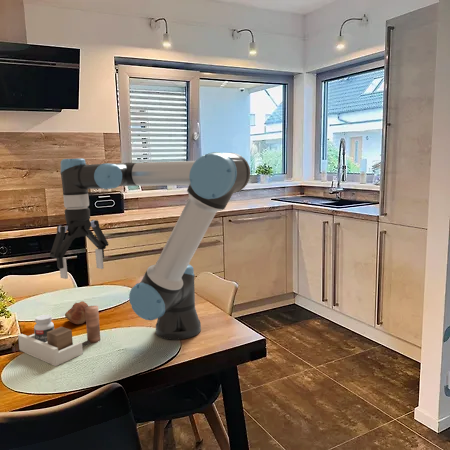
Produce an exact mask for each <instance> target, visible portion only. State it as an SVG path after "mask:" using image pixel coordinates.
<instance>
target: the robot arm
mask: <svg viewBox="0 0 450 450" xmlns="http://www.w3.org/2000/svg"><path fill="white" fill-rule="evenodd" d="M60 177H61V178H60V179H61V186H62V187H61V188H62V195H63V198H62V199H63V207H64V208H65V210H64V219H65V222H66V224H65V225H57V227H56V235H55V237H54V241H53V244H52V246H51V247H52V248H51V250H50V252H49V256H50V257H51V258H55V259H56V266H57V269H59V274H60V279H65V280H66V279H69V276H68V266H67V265H68V264H67V257H65V255H66V253H67V251H68V249H69V248H70V246H71V245H72V243H73V241H74V240H75V239H76V238H77V239H78V238H81V237H86V238H87V239H88V240H89V241H90V242H91V243H92V244H93V245H94V246H95V249H94V253H95V263H96V265H95V266H96V268H97V269H101V270H103V269H104V268H105V267H104V258H105V251H104V250H105V249H106V248H107V247H108V246H110V245H109V241H108V240H107V238H106V236H105V235H104V233H103V231H102V229H101V226H100V223H99V220H97V219H91V209H90V208H89V206H90V199H89V190H90V189H93V190H96V189H97V190H99V189H100V190H111V189H117V188H119V187H131V186H132V187H138V186H142V187H143V186H149V187H150V186H153V187H154V186H156V187H157V186H168V187H169V186H173V187H174V186H188V187H187V190H186V192H187V194H188V200H187V202H186V203H185V205H184V207H183V209H182V211H181V213H180V215H179V217H178V219H177V221H176V223H175V225H174V227H173V229H172V231H171V233H170V235H169V237H168V239H167V241H166V243H165V245H164V247H163V249H162V251H161V253H160V255H159V257H158V259H157V260H156V263H155V264H152V265H150V266H148V267H147V269H146V271H145V273H144V275H143V277H142V279H141V281H140V282H137V283H135V285H134V286H133V287H132V288H131V289H130V291H129V294H128V295H129V296H128V301H129V304H130V306H131V309H132V310H133V312H134V314H136V315H137V316H138V317H139V318H141V319H143V320H145V321H155V320H157V321H156V324H155V334H156V336H158V337H159V338H162V339H165V340H170V341H171V340H174V341H176V340H177V341H178V340H185V339H186V340H187V339H190V338H193V337H195V336H197V335H198V334H200V333H201V331H202V327H201V326H202V324H201V321H200V319H199V315H198V313H197V310H196V298H195V297H196V296H195V272H194V271H195V269H194V267H193V266H192V265H191V264H190V263H191V260H193V259H192V258H193V257H194V255H195V253H196V251H197V249H198V247H199V246H200V244H201V242H202V240H203V238H204V237H205V235H206V233H207V231H208V229H209V228H210V226H211V223H212V222H213V219H214V218H215V216H216V215H217V212H219V211H224V210H225V208H226V207H227V205H228V203H229V202H230V200H231V198H232V197H233V194H235V193H238V192H241V191H242V190H243V189H245V187H246V186H247V185H248V183H249V181H250V178H251V168H250V165H249V163H248V161H247V160H246V158H245V157H243V156H242V155H240V154H239V153H235V152H220V151H219V152H217V151H216V152H215V151H213V152H209V153H205V154H203V155H201V156H199V158H197V159H196V160H180V161H175V160H174V161H147V162H122V163H121V162H120V163H119V162H118V163H107V162H106V163H94V164H93V163H92V164H87V163H86V159H85V158H63V159H61V161H60ZM90 219H91V220H90ZM91 228H92V230H93V231H92V230H91ZM93 232H94V233H93ZM94 234H95V235H94Z"/></svg>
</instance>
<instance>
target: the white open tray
mask: <svg viewBox="0 0 450 450" xmlns="http://www.w3.org/2000/svg"><path fill="white" fill-rule="evenodd" d="M17 338H18V347H19V351H20V352H23V353H25V354H27V355H30V356H32V357H34V358H36V359H38V360H41V361H43V362H45V363H48V364H49V365H52V366H54V367H57V366H60V365H62V364H64V363H66V362H68V361H70V360H72V359H74V358H76V357H79V356H81V355H84V354H83V353H84V352H83V351H84V349H83V346H82V343H83V342H81V341H79V342H78V341H77V342H76V343H74V344H73V345H71V346H69V347H66V348H64V349H62V350H59V351H58V348H57V347H54V346H52V345H49V344H48V341H47V342H42V341H39V340H37V339H35V334H34V333H32V334H30V335H26V334H23V333H19V334H18V335H17Z"/></svg>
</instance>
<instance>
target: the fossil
mask: <svg viewBox="0 0 450 450" xmlns="http://www.w3.org/2000/svg"><path fill="white" fill-rule="evenodd" d="M88 306H89V304H88V303H86V301H83V300H82V301H80V302H75V303H73V305H72V306H71V308H70V309H68V310H67V311H66V312H65V314H64V316H65V318H66V319H67V320H68V321H69V322H71V323H72V324H74V325H82V324H84V323H86V315H85V308H86V307H88Z"/></svg>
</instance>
